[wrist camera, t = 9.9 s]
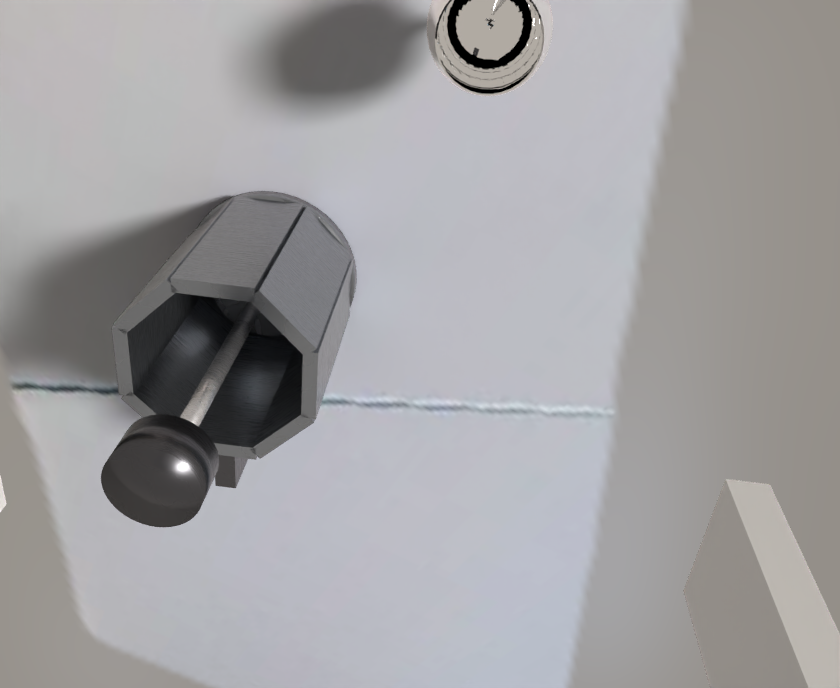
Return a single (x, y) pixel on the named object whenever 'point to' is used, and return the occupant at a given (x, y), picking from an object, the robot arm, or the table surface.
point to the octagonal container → (208, 326)
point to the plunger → (177, 441)
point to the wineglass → (489, 42)
